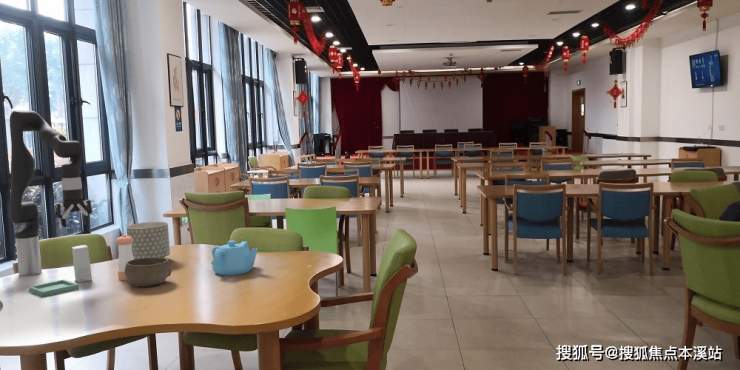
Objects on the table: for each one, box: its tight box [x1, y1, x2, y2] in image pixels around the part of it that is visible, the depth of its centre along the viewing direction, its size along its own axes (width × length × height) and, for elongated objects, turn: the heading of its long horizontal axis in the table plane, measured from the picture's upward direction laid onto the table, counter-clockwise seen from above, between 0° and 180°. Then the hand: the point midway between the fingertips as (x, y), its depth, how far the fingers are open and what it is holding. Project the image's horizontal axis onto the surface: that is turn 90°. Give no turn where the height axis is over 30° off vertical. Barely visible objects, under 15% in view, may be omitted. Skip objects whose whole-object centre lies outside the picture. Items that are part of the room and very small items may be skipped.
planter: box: [125, 221, 171, 259], centre depth 297 cm, size 19×19×18 cm
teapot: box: [210, 240, 258, 276], centre depth 272 cm, size 19×19×14 cm
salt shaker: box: [115, 234, 134, 281], centre depth 265 cm, size 7×7×19 cm
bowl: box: [125, 257, 172, 288], centre depth 254 cm, size 17×18×10 cm
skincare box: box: [71, 244, 93, 283], centre depth 265 cm, size 8×6×15 cm
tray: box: [28, 279, 80, 298], centre depth 250 cm, size 14×14×2 cm
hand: (74, 225), depth 260 cm, fingers open, 8 cm apart
